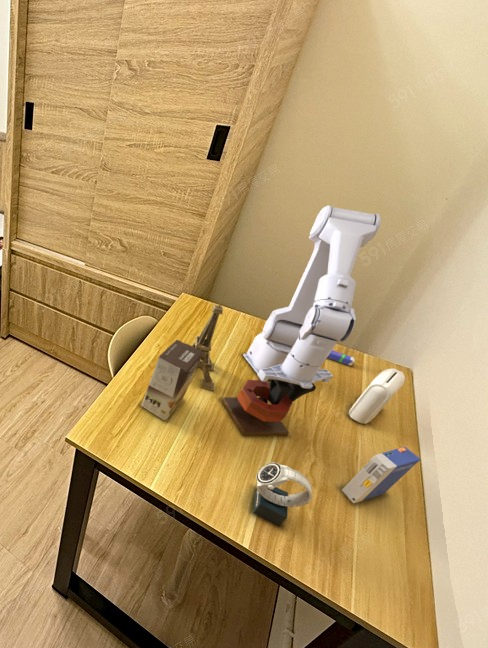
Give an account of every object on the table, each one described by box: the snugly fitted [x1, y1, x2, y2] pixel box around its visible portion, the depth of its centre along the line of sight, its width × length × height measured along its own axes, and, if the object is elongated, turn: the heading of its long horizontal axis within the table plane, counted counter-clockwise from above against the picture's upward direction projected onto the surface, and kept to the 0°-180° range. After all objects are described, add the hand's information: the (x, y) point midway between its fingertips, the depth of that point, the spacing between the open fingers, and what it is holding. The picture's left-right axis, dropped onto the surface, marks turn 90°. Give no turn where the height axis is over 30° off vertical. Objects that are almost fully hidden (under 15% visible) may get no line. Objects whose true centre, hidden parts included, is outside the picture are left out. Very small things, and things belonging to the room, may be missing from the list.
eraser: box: [326, 349, 356, 367], centre depth 110 cm, size 2×6×2 cm, turn 54°
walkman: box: [341, 446, 421, 504], centre depth 76 cm, size 8×3×12 cm, turn 105°
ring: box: [236, 379, 293, 423], centre depth 91 cm, size 9×9×3 cm
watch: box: [252, 461, 313, 527], centre depth 73 cm, size 6×8×11 cm
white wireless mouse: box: [347, 367, 406, 425], centre depth 93 cm, size 10×4×12 cm, turn 123°
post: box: [221, 396, 290, 437], centre depth 92 cm, size 10×10×6 cm
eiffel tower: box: [190, 293, 226, 392], centre depth 99 cm, size 11×11×25 cm
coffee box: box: [140, 339, 203, 421], centre depth 92 cm, size 9×6×16 cm
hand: (278, 401), depth 91 cm, fingers closed on ring, 2 cm apart
